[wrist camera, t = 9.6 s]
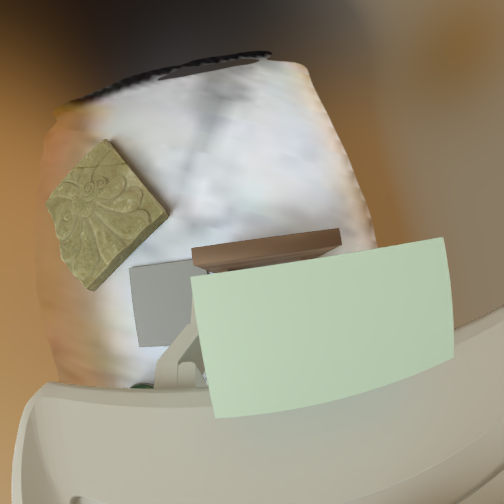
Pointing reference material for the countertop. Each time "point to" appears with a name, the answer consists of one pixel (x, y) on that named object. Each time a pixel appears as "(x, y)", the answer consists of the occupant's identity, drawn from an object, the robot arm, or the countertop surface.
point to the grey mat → (162, 300)
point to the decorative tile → (102, 215)
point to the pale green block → (323, 326)
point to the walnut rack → (265, 251)
